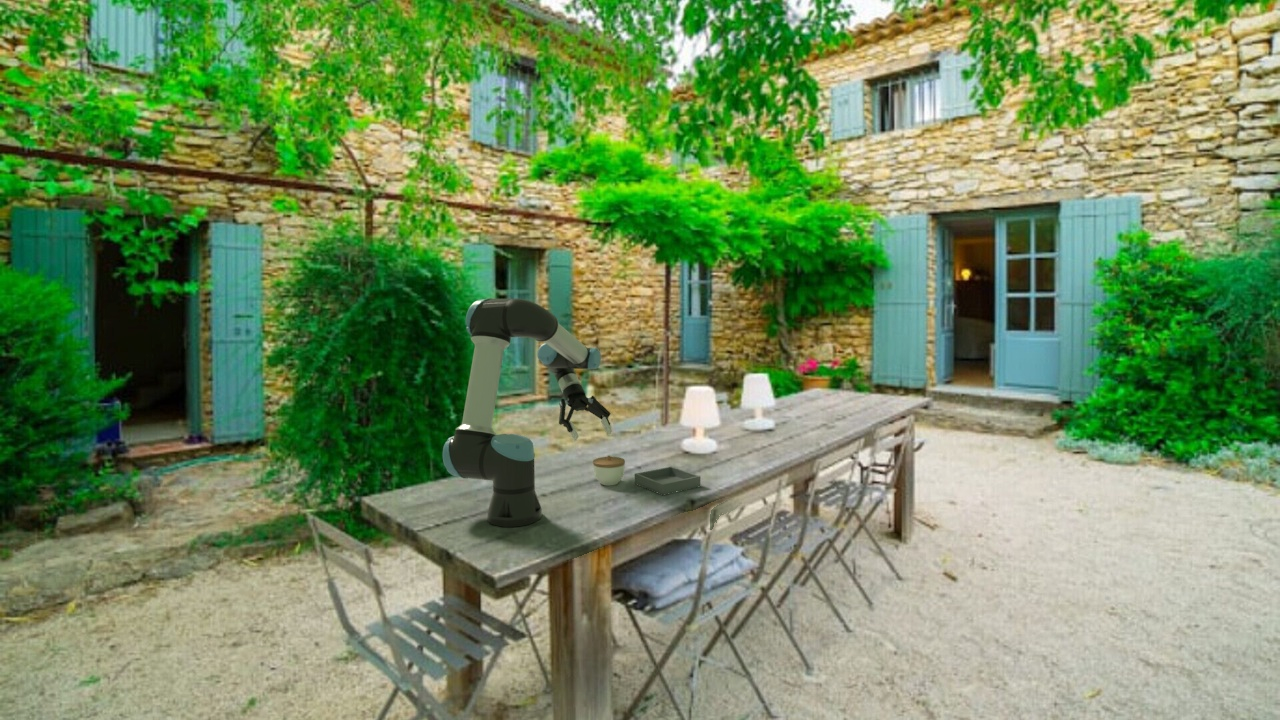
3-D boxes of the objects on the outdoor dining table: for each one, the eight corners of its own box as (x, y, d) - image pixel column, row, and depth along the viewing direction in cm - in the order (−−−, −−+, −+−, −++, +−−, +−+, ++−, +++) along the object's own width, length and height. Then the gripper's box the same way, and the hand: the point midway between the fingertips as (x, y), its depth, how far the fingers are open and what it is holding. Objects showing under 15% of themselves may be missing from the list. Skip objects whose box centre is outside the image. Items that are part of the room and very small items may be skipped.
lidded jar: (626, 478, 216) (626, 452, 215) (623, 487, 205) (622, 460, 204) (596, 478, 217) (595, 451, 216) (590, 487, 206) (590, 459, 206)
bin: (662, 495, 197) (662, 484, 197) (634, 483, 210) (634, 473, 209) (700, 486, 206) (700, 476, 206) (671, 476, 219) (671, 466, 218)
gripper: (597, 392, 239) (619, 437, 228) (537, 398, 224) (558, 447, 214) (604, 379, 234) (627, 425, 223) (544, 385, 220) (565, 434, 209)
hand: (593, 436), depth 218 cm, fingers open, 13 cm apart
